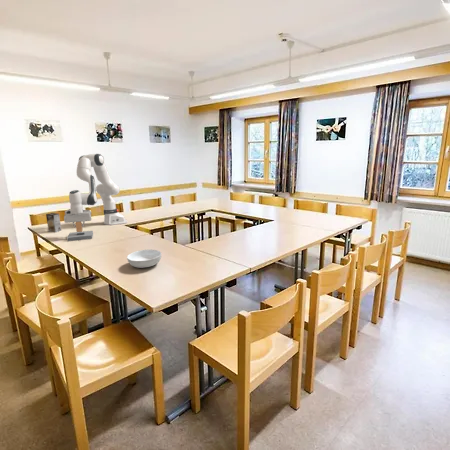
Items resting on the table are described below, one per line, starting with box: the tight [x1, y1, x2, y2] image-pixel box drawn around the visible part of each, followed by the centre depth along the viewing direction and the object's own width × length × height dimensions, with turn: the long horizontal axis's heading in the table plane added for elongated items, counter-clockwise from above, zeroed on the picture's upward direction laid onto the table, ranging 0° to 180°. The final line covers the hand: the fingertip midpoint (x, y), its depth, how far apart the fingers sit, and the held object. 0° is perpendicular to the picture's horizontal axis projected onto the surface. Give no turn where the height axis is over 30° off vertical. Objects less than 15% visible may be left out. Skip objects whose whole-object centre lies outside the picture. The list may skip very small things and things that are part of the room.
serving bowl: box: [126, 249, 162, 269], centre depth 187 cm, size 21×21×7 cm
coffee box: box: [45, 212, 62, 233], centre depth 268 cm, size 9×6×16 cm
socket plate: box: [66, 230, 94, 242], centre depth 249 cm, size 18×16×3 cm
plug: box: [75, 222, 83, 232], centre depth 247 cm, size 4×5×8 cm
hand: (79, 226), depth 247 cm, fingers closed on plug, 4 cm apart
